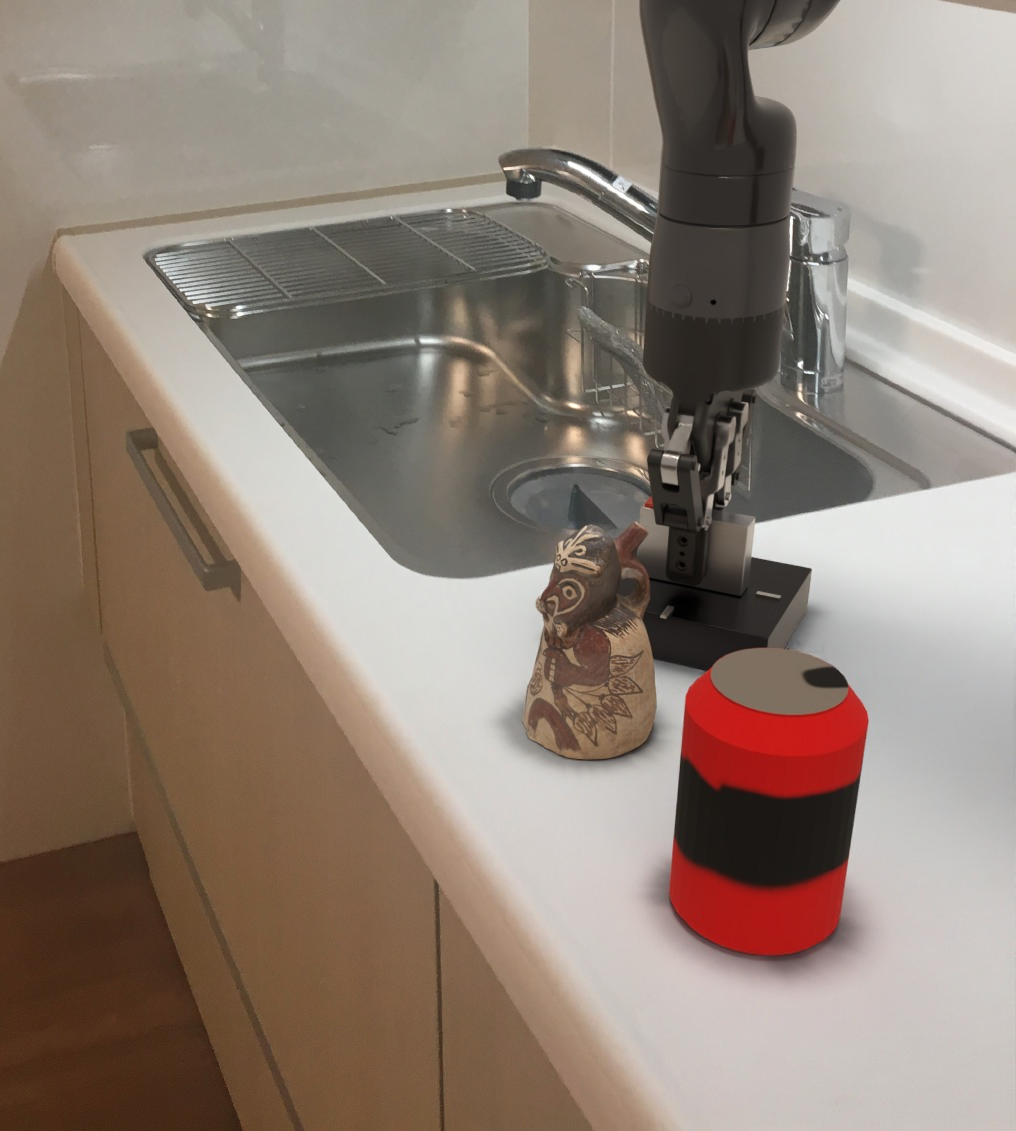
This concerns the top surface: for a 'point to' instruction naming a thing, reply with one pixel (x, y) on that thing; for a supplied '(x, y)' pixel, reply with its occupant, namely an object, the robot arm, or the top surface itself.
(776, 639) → the tap plate
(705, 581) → the grey rectangular block
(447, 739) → the top surface
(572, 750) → the figurine
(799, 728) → the soda can
